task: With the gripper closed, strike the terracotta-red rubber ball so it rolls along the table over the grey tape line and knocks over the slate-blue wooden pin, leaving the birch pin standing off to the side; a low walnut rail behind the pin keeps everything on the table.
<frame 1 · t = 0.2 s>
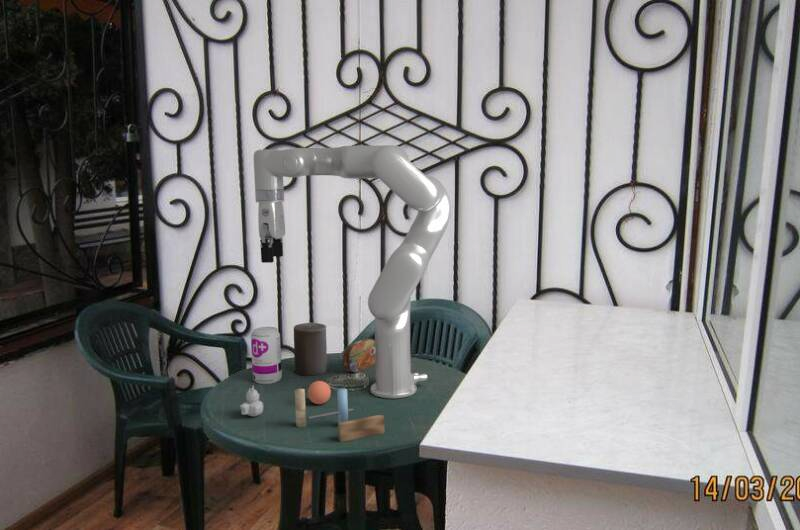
hand: (272, 259, 196), 36 cm above the table, tool pointing down, fingers open, 9 cm apart
pillar candle: (311, 371, 216), on the table
tin: (361, 368, 218), on the table
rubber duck: (252, 416, 182), on the table
birch pin: (301, 425, 175), on the table
ball: (319, 392, 189), on the table
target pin: (343, 425, 174), on the table
lane line: (331, 414, 182), on the table
supplement can: (267, 380, 208), on the table
back rail: (361, 436, 168), on the table
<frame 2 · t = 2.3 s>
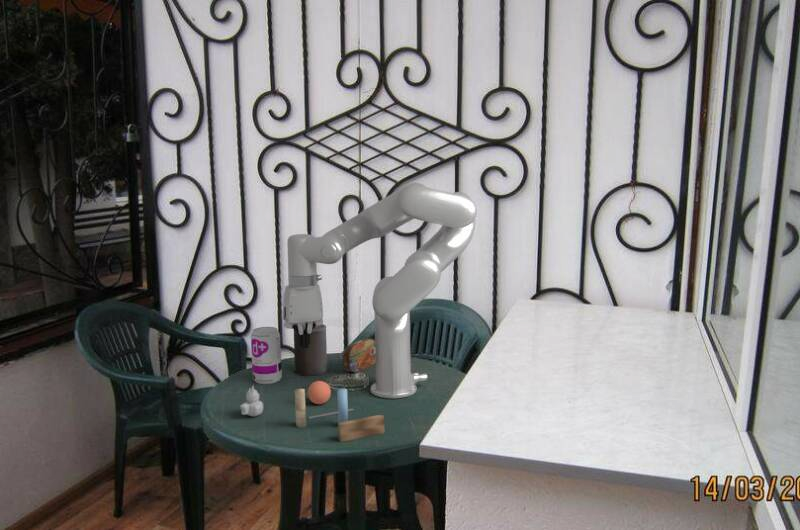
hand: (304, 347, 195), 13 cm above the table, tool pointing down, fingers closed
nothing on the table moved.
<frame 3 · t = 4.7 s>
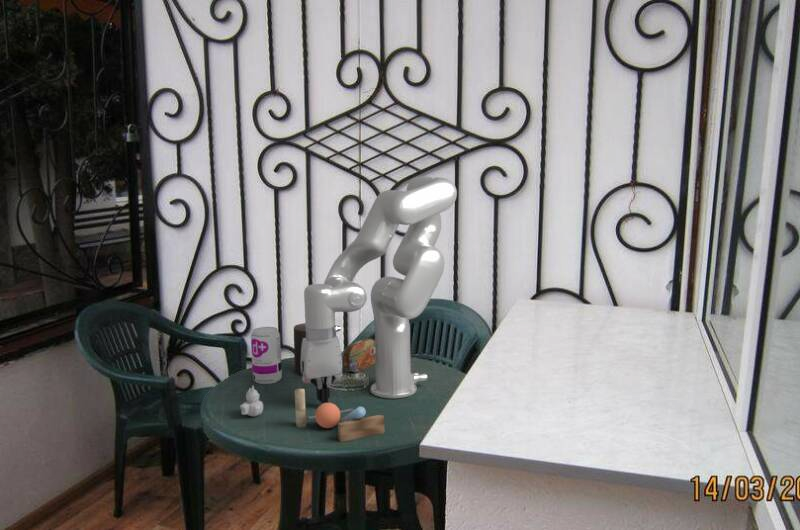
hand: (323, 401, 186), 2 cm above the table, tool pointing down, fingers closed
ball: (327, 415, 173), on the table
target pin: (344, 422, 174), point 1 cm above the table, tilted 56°, touching back rail
everything else where it was.
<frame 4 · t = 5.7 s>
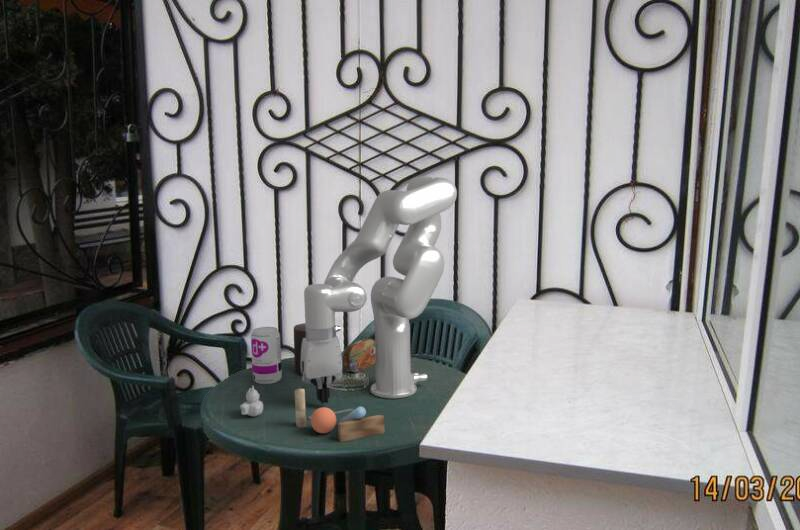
hand: (323, 401, 186), 2 cm above the table, tool pointing down, fingers closed
ball: (323, 420, 170), on the table
everything else where it was.
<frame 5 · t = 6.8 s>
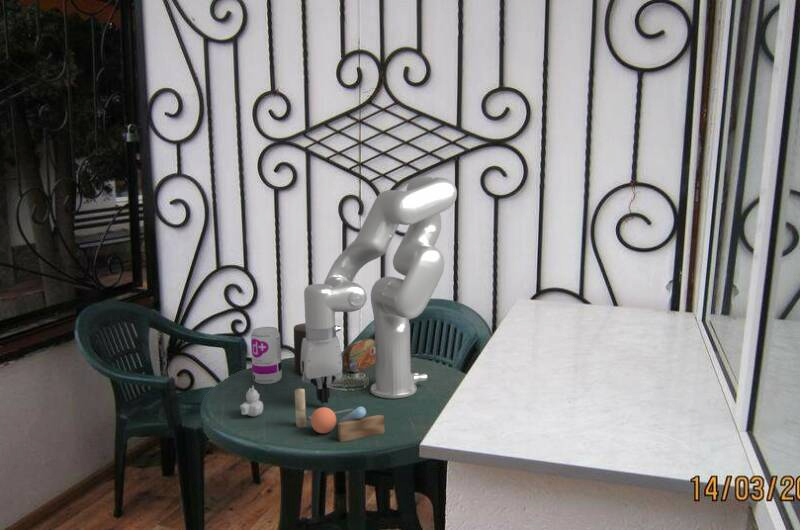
hand: (323, 401, 186), 2 cm above the table, tool pointing down, fingers closed
nothing on the table moved.
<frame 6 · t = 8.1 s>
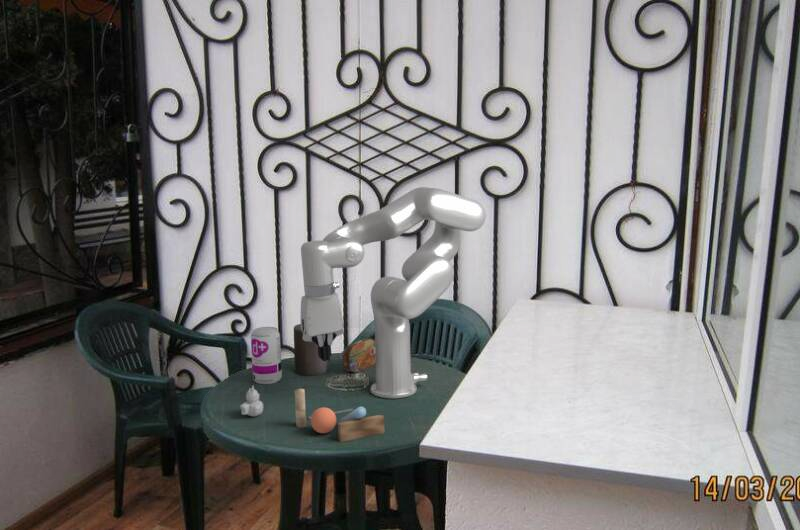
hand: (325, 359, 185), 13 cm above the table, tool pointing down, fingers closed
nothing on the table moved.
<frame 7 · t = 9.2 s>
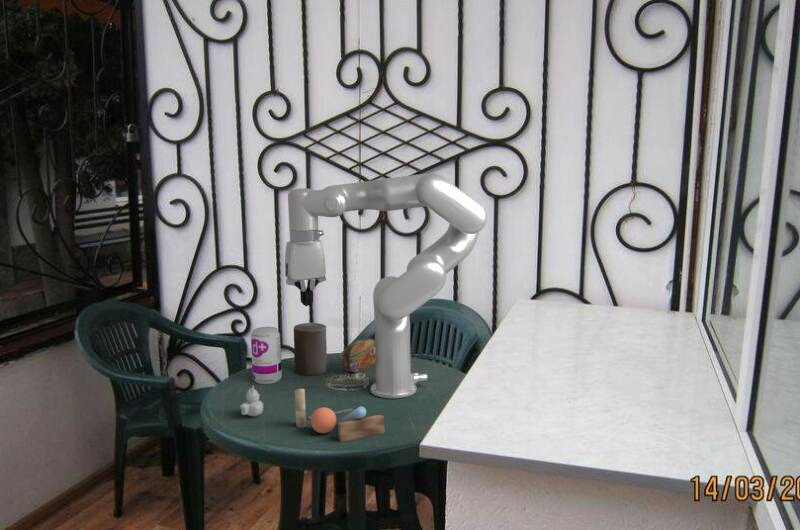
hand: (307, 304, 191), 25 cm above the table, tool pointing down, fingers closed
nothing on the table moved.
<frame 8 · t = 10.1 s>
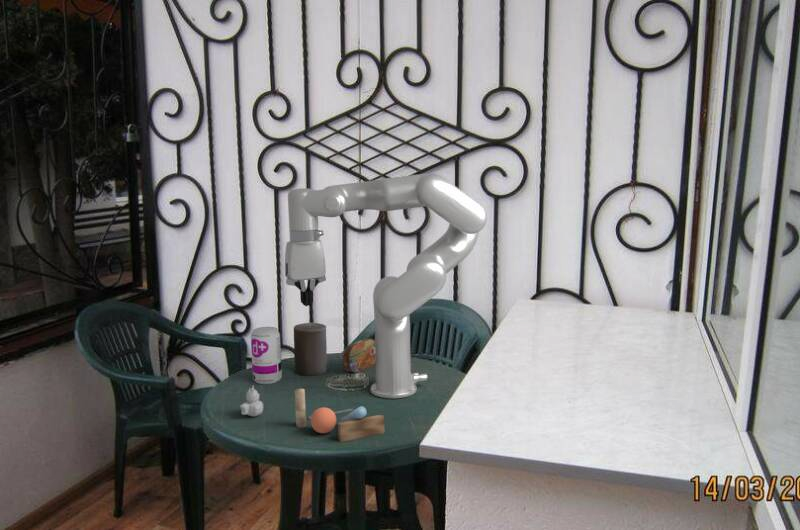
hand: (307, 304, 191), 25 cm above the table, tool pointing down, fingers closed
nothing on the table moved.
at the end: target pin tilted 56°; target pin never touched the robot; ball moved 19.3 cm from its start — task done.
